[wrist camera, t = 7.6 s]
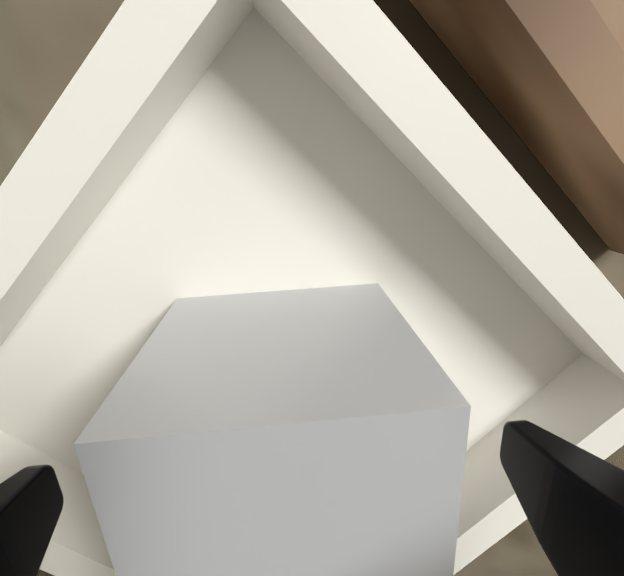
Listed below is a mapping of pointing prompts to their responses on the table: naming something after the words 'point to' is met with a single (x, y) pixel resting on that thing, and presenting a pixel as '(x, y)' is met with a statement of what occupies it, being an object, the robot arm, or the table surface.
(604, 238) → the walnut tray
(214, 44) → the cream tray
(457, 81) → the table surface
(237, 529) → the stone block
